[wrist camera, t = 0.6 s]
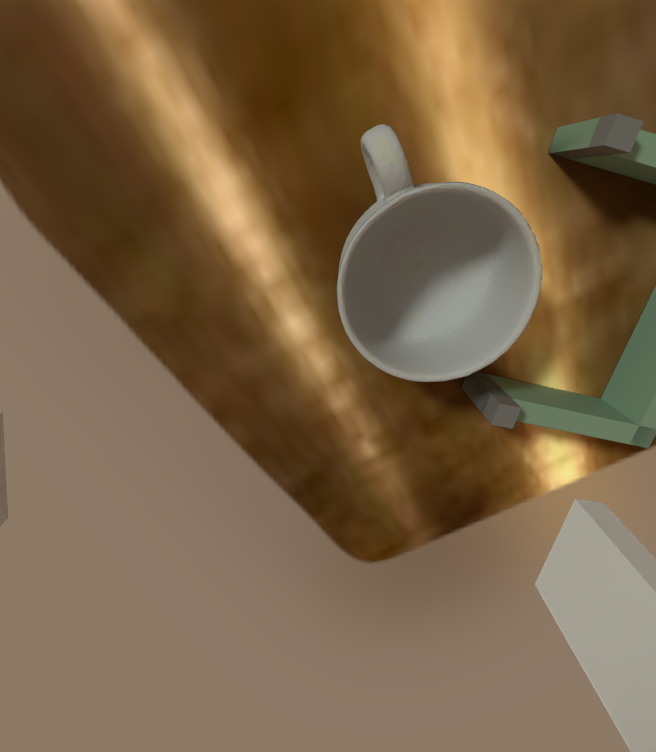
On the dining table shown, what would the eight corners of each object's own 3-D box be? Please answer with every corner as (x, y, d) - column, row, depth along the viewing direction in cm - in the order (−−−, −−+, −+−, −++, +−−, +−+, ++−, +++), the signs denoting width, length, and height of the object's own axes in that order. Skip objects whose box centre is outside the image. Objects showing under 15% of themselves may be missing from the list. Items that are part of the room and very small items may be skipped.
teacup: (496, 322, 34) (550, 359, 27) (349, 359, 35) (362, 406, 27) (470, 108, 29) (529, 79, 22) (298, 154, 29) (297, 142, 22)
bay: (557, 127, 30) (617, 113, 24) (730, 178, 31) (823, 176, 26) (461, 387, 36) (490, 424, 30) (609, 419, 37) (663, 459, 32)
